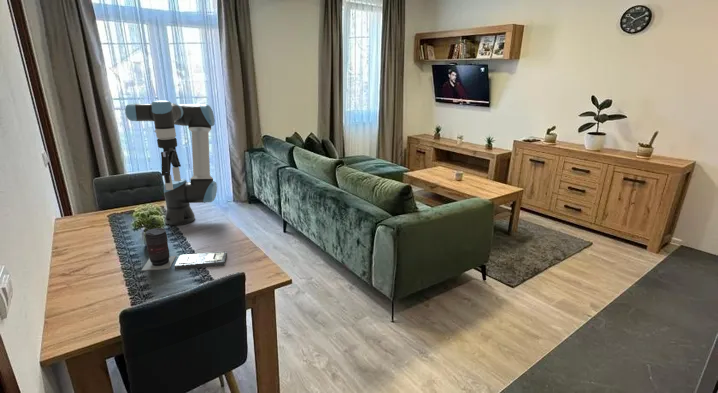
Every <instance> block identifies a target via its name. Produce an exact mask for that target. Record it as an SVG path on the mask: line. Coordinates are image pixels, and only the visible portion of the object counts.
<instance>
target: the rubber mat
mask: <svg viewBox="0 0 718 393" xmlns="http://www.w3.org/2000/svg"><path fill="white" fill-rule="evenodd" d="M169 256H170V255H169ZM176 258H177V256H176V255H171V256H170V257H169V262H168V263H167V264H165V265H162V266H153V265H152V262H151V261H150V258H148V260H147V261H146V263H145V264H144V266H143V267H142V269H141V272H146V271H158V270H169V269H171V267H172V265H173V263H174V262H175V260H176Z"/></svg>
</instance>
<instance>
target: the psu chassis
mask: <svg viewBox="0 0 718 393" xmlns="http://www.w3.org/2000/svg"><path fill="white" fill-rule="evenodd" d="M227 257H228V252H227V251H226V250H225V251H215V252H214V251H212V252H211V251H210V252H200V253H188V254H187V253H186V254H179V256H178V258H177V260H176V262H175V264H174V267H173V268H174V271H176V270H177V271H179V270H180V271H181V270H190V268H192V269H199V268H200V267H204V268H212V267H216V268H217V267H224V266H225V265H226V260H227ZM200 269H201V268H200Z"/></svg>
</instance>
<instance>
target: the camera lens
mask: <svg viewBox="0 0 718 393" xmlns="http://www.w3.org/2000/svg"><path fill="white" fill-rule="evenodd" d="M144 233H145V235H144V237H145V241H146V242H145V243H146V251H147V252H148V253H147V254H148V257H149V258H150V261H151V262H152V265H153V266H162V265H165V264H167V263H168V262H169V257H170V250H169V249H170V248H169V245H168V233H167V230H166V229H165V228H162V227H161V228H160V227H156V228H152V229H148V230H146V231H145V232H144ZM149 258H148V259H149Z"/></svg>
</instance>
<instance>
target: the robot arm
mask: <svg viewBox="0 0 718 393" xmlns="http://www.w3.org/2000/svg"><path fill="white" fill-rule="evenodd" d="M124 109H125V110H124V111H125V116H126V118H127V119H128V121H130V122H153V124H154V129H155V130H154V131H153V132H154V133H155V136H156V138H157V139H156V142H157V147H158V148H160V149H162V150H163V151H161V152H160V156H161V158H160V159H161V174H160V176H162V177H163V178H164V184H163V193H164V200H165V205H166V212H165V216H164V221H165V225H168V224H169V226H181V225H187V224H189V223H192V222H194V220H195V219H196V217H195V212H193V209H192V208H191V204H201V203H202V204H207V203H212V202H215V200H216V199H215V198H217V193H218V186H217V182H216V181H214V178H213V177H212V176H211V170H210V168H211V167H210V141H209V137H210V136H209V132H211V130H212V127H213V126H214V125H215V115H214V111H213V109H212V107H211V106H210V105H209V104H204V103H180V104H178V103H174V102H171V101H169V100H154V101H152V102H151V103H128V104H127V105H125V108H124ZM176 125H177V126H183V127H185V126H187V127H188V128H187V129H188V130H189V131H190V132H191V147H192V148H191V152H192V153H191V154H192V176H191V177H190V179H189V181H188V180H187V179H186V178H181V172H180V168H181V167H182V165H181V162H180V159H179V156H178V153H177V149H176V147H178V141H177V138H176V137H177V133H176ZM171 167H172V174H173V178H172V174H171Z"/></svg>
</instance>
